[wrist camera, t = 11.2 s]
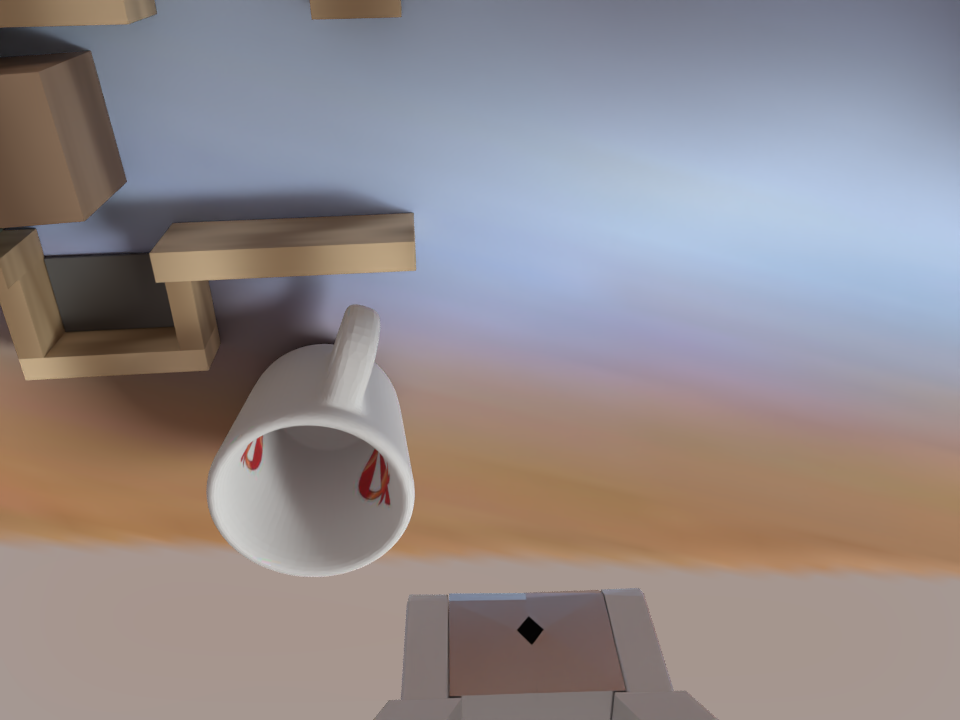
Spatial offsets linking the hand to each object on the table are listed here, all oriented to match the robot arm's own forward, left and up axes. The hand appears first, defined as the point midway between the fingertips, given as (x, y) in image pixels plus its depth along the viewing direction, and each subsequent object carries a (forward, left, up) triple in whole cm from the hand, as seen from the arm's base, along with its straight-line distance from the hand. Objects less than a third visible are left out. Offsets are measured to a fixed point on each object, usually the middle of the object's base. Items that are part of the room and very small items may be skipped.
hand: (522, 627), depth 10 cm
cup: (+5, +10, -26) cm, 28 cm away
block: (+15, -2, -26) cm, 30 cm away
